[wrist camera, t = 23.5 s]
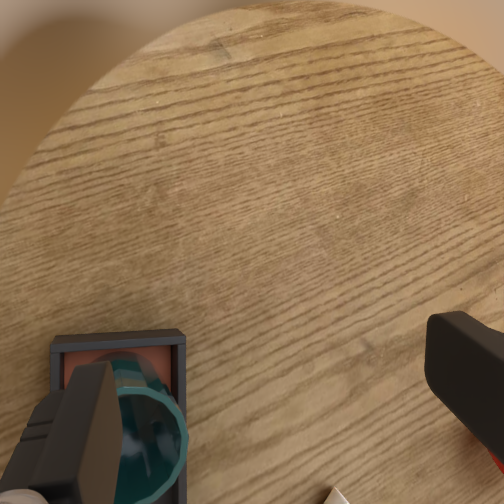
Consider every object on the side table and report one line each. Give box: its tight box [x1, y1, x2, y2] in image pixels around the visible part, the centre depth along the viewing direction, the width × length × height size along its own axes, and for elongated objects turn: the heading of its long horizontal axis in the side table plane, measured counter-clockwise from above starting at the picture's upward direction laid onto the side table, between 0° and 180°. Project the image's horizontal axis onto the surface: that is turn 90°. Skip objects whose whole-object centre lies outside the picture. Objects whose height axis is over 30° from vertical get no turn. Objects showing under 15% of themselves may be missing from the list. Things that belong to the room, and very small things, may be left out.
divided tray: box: [50, 329, 187, 504], centre depth 31 cm, size 17×9×4 cm, turn 1°
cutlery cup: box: [91, 351, 189, 504], centre depth 27 cm, size 6×6×10 cm
